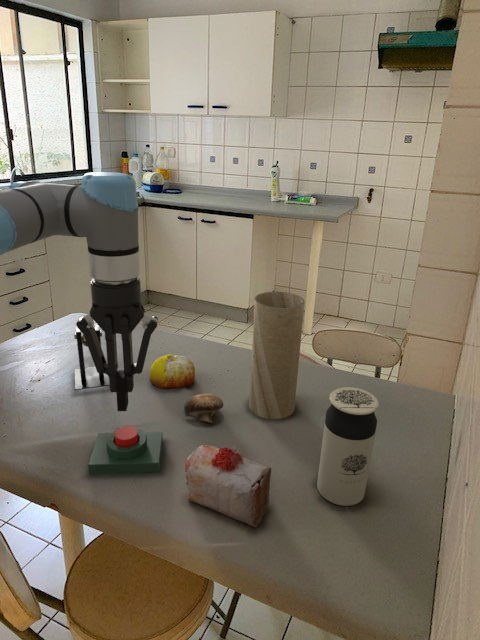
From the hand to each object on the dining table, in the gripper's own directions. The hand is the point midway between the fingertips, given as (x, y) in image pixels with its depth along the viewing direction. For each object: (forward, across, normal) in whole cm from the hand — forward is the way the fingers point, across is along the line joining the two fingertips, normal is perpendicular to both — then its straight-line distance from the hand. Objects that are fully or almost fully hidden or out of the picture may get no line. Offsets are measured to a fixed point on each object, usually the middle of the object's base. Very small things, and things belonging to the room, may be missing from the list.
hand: (123, 406), depth 81 cm
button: (+7, 0, 0) cm, 7 cm away
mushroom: (+11, -14, -12) cm, 22 cm away
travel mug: (+11, -37, +10) cm, 40 cm away
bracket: (+11, +12, -28) cm, 32 cm away
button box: (+11, 0, 0) cm, 11 cm away
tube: (+11, -29, -16) cm, 35 cm away
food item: (+11, -18, +12) cm, 24 cm away
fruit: (+11, -7, -27) cm, 30 cm away
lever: (+3, +13, -31) cm, 34 cm away
